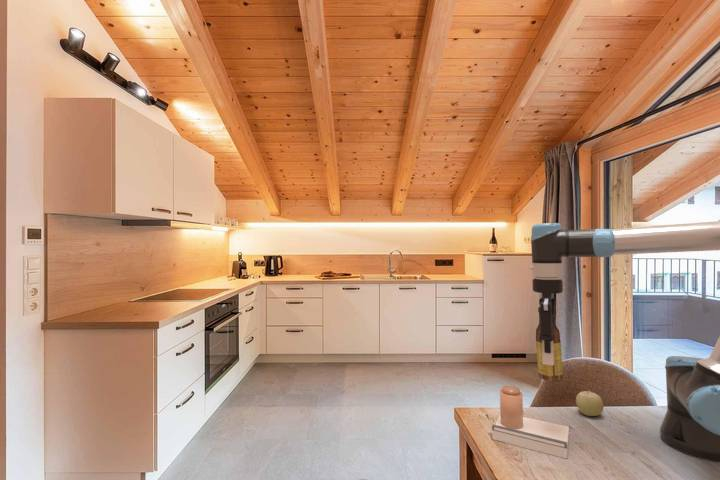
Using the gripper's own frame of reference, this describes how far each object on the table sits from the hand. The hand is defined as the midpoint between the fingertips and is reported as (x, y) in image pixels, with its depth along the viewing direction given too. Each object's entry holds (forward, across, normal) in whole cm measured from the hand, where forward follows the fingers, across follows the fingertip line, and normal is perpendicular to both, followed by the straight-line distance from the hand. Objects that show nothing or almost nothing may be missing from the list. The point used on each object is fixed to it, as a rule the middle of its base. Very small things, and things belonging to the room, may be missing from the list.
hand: (549, 360), depth 99 cm
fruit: (+22, -23, +9) cm, 33 cm away
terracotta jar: (+19, +2, -10) cm, 22 cm away
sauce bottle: (+5, 0, 0) cm, 5 cm away
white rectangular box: (+22, +2, -5) cm, 22 cm away
